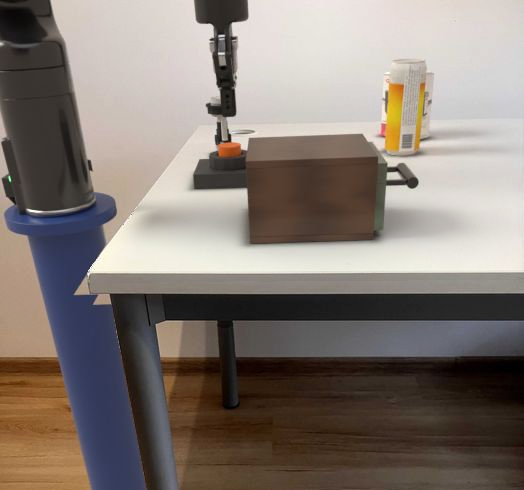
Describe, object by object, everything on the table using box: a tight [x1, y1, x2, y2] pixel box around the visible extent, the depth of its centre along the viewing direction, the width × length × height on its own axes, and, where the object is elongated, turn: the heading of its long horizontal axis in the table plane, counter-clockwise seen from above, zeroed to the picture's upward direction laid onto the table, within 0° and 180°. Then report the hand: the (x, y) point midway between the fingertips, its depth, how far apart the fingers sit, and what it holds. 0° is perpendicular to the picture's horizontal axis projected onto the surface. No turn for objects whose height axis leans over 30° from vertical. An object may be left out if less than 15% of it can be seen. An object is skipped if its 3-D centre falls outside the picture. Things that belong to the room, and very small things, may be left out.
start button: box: [218, 141, 242, 157], centre depth 93 cm, size 4×4×2 cm
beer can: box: [384, 58, 428, 157], centre depth 103 cm, size 6×6×15 cm
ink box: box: [380, 70, 435, 140], centre depth 115 cm, size 9×5×12 cm, turn 42°
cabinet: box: [246, 133, 378, 245], centre depth 73 cm, size 15×13×10 cm
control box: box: [192, 148, 247, 190], centre depth 94 cm, size 11×10×4 cm
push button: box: [205, 95, 233, 152], centre depth 107 cm, size 7×5×10 cm
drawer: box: [368, 141, 420, 231], centre depth 73 cm, size 18×11×8 cm, turn 90°
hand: (229, 116), depth 91 cm, fingers closed
